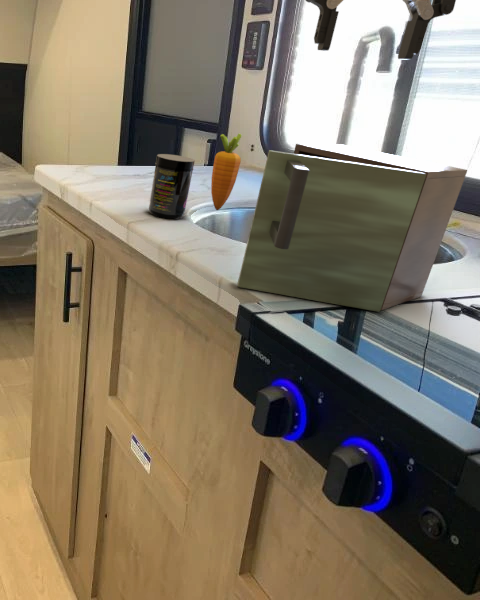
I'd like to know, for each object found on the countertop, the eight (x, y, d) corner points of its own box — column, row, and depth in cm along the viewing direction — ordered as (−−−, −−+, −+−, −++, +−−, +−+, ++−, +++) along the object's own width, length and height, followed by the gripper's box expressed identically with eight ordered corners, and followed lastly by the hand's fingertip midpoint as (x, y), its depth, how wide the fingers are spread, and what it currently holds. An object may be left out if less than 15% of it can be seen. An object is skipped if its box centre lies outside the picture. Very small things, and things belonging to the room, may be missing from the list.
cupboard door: (395, 334, 68) (448, 184, 62) (240, 305, 71) (275, 158, 64) (377, 309, 76) (423, 172, 69) (237, 284, 78) (269, 149, 71)
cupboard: (381, 310, 76) (428, 171, 69) (265, 265, 88) (295, 143, 81) (421, 296, 83) (467, 169, 76) (309, 256, 95) (340, 144, 89)
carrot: (202, 209, 117) (218, 131, 112) (206, 205, 122) (222, 130, 116) (227, 214, 116) (244, 135, 110) (231, 210, 120) (248, 134, 115)
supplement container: (184, 222, 106) (196, 163, 102) (147, 216, 107) (156, 157, 103) (183, 213, 113) (193, 157, 109) (147, 208, 113) (157, 152, 109)
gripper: (467, -109, 60) (416, 63, 66) (325, -124, 61) (287, 47, 67) (510, -132, 53) (448, 62, 60) (349, -148, 54) (304, 46, 60)
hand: (363, 54), depth 63 cm, fingers open, 8 cm apart
